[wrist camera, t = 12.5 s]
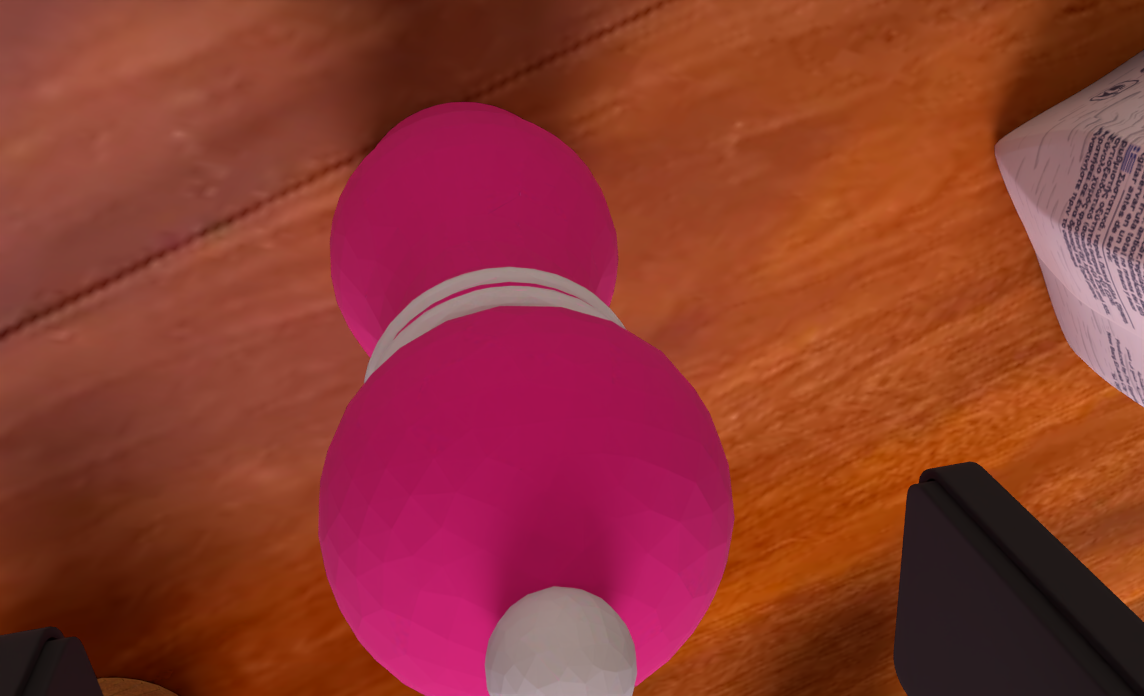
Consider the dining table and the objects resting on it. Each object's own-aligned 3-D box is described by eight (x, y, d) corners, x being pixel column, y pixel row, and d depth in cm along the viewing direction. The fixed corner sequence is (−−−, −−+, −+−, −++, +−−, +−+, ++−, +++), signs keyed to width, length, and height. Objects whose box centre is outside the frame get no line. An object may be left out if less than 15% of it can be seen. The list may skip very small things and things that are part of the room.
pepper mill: (628, 153, 28) (1014, 570, 11) (517, 355, 31) (679, 987, 13) (404, 35, 26) (407, 311, 8) (300, 262, 28) (120, 878, 10)
